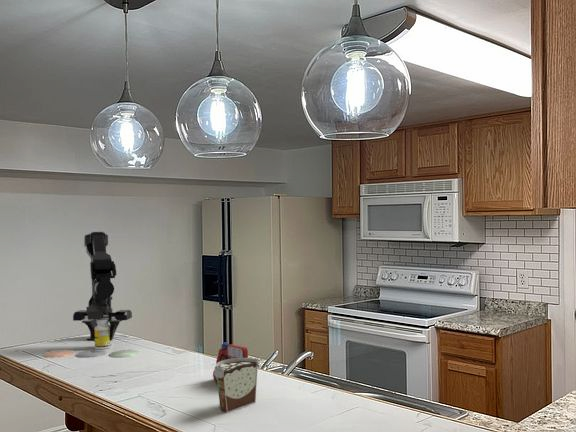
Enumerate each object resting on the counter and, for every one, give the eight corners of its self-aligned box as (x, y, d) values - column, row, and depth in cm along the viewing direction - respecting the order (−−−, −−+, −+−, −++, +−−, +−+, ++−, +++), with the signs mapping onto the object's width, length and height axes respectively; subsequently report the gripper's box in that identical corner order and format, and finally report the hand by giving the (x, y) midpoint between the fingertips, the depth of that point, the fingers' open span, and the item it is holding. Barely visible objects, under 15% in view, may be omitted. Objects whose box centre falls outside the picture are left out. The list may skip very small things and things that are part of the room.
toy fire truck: (229, 376, 163) (229, 338, 163) (257, 385, 153) (256, 344, 153) (208, 381, 158) (207, 342, 158) (235, 390, 149) (234, 349, 149)
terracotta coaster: (51, 352, 199) (51, 350, 199) (77, 352, 198) (77, 350, 198) (38, 358, 190) (38, 356, 190) (66, 358, 189) (66, 356, 189)
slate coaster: (83, 352, 198) (83, 350, 198) (110, 352, 198) (109, 350, 198) (71, 358, 189) (71, 356, 189) (99, 358, 189) (99, 356, 189)
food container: (240, 396, 143) (240, 355, 143) (259, 401, 139) (259, 358, 140) (202, 409, 134) (202, 365, 134) (222, 414, 130) (221, 369, 130)
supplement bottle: (94, 346, 205) (94, 318, 205) (111, 345, 207) (110, 317, 207) (94, 350, 200) (94, 320, 200) (111, 348, 202) (111, 319, 202)
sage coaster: (115, 352, 197) (115, 350, 197) (142, 352, 197) (142, 350, 197) (105, 358, 188) (105, 356, 188) (133, 358, 188) (133, 356, 188)
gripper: (65, 298, 196) (66, 345, 196) (120, 297, 195) (121, 345, 195) (79, 293, 207) (80, 338, 207) (132, 293, 206) (132, 338, 206)
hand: (103, 340), depth 203 cm, fingers closed on supplement bottle, 5 cm apart
